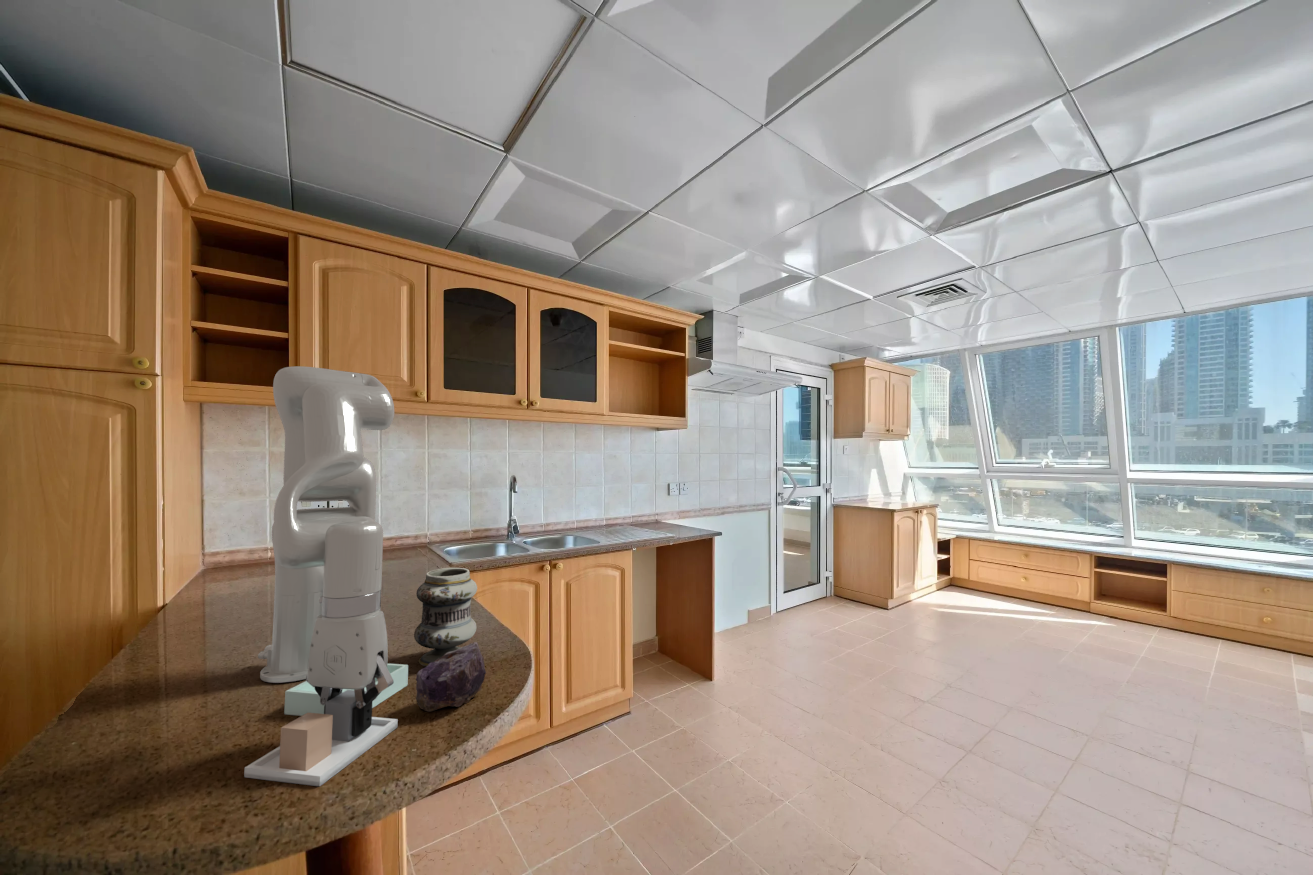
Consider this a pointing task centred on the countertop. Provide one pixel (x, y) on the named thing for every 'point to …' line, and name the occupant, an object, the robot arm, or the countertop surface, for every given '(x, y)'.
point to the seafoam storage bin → (308, 699)
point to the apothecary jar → (445, 612)
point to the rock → (451, 679)
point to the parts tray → (327, 767)
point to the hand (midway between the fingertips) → (347, 728)
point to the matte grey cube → (342, 715)
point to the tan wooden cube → (306, 741)
